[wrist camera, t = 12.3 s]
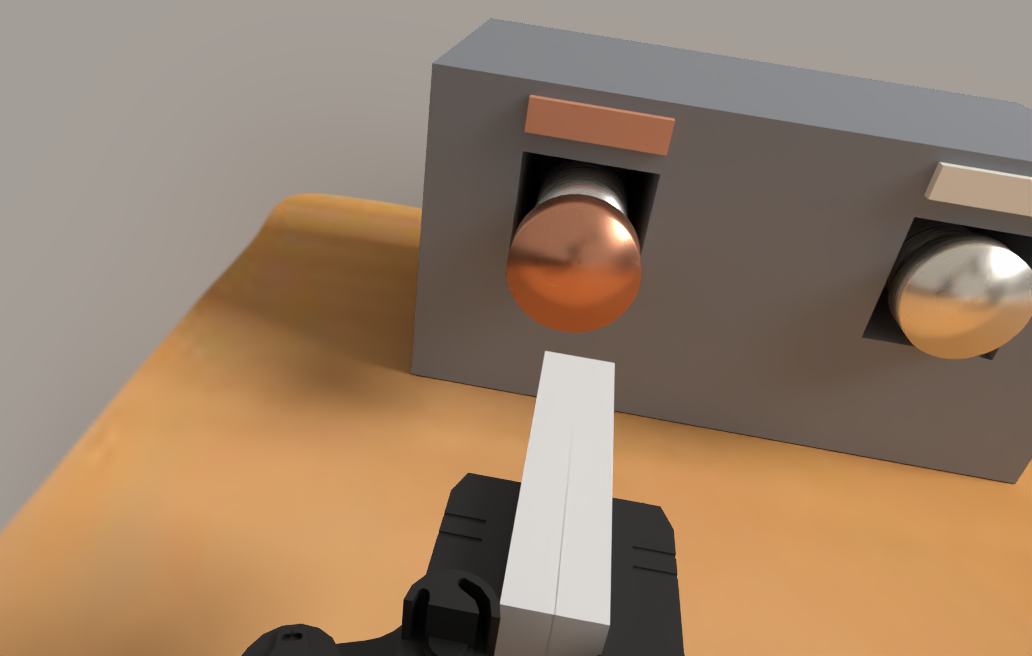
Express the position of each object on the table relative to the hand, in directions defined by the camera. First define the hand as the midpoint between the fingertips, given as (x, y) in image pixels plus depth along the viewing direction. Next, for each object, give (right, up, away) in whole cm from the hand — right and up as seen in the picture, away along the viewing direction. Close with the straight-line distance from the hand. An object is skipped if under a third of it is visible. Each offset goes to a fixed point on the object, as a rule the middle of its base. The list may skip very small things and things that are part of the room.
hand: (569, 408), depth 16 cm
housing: (+8, +1, +20) cm, 22 cm away
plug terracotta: (+1, +4, +14) cm, 14 cm away
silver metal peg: (+15, +3, +16) cm, 22 cm away
